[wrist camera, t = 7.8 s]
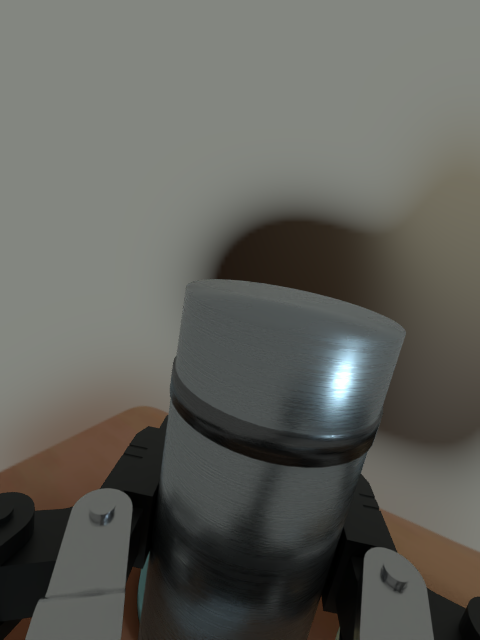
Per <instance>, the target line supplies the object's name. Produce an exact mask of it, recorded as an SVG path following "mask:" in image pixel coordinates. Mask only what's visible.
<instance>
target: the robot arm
mask: <svg viewBox="0 0 480 640" xmlns="http://www.w3.org/2000/svg"><path fill="white" fill-rule="evenodd" d="M167 422H168V415H167V416H166V418H165V419H164V421H163V423H162V425H161V426H160V428H154V427H150V426H148V427H147V428H145V429H143V430H142V431H140V432H139V433H137V434H136V436H135V437H134V439H133V440H132V442H131V443H130V445H129V446H128V448H127V449H126V450H125V452H124V454H123V455H122V456H121V458H120V459H119V461H118V462H117V464H116V465H115V467H114V468H113V470H112V471H111V473H110V474H109V476H108V477H107V479H106V480H105V482H104V483H103V485H102V486H101V488H100V489H98V490H95V491H92V492H90V493H88V494H86V495H84V496H83V497H82V498H80V499H79V500H78V501H77V502H76V503H75V505H74V507H70V508H66V509H55V510H40V511H35V507H34V502H33V500H32V499H31V498H30V497H29V496H27V495H25V494H22V493H17V492H7V493H1V494H0V640H3V639H4V638H5V637H6V636H7V635H8V634H9V633H10V632H11V631H12V630H13V628H14V627H15V626H16V625H17V624H18V623H19V622H20V621H21V620H22V618H29V617H32V619H31V623H30V626H29V629H28V632H27V635H26V638H25V640H121V632H122V621H123V610H124V599H125V584H126V581H127V579H128V576H129V574H130V572H131V569H132V567H137V568H142V569H143V567H144V565H145V562H146V559H147V557H148V554H149V552H150V546H151V539H152V532H153V524H154V517H155V510H156V502H157V495H158V488H159V481H160V473H161V466H162V459H163V451H164V444H165V437H166V430H167ZM321 597H322V604H323V610H324V611H327V612H332V613H336V614H338V619H339V625H340V627H339V630H338V633H337V635H336V639H335V640H480V597H474V598H473V599H471V600H470V602H469V603H468V605H467V607H466V608H464V607H462V606H460V605H458V604H456V603H454V602H452V601H450V600H448V599H446V598H444V597H442V596H440V595H438V594H436V593H435V592H433V591H431V590H429V589H428V588H427V587H426V585H425V582H424V580H423V578H422V576H421V575H420V573H419V572H418V570H417V569H416V568H415V567H414V566H413V565H412V564H411V563H410V562H409V561H408V560H407V559H406V558H404V557H403V556H401V555H400V554H398V553H397V550H396V548H395V545H394V543H393V541H392V538H391V536H390V533H389V531H388V528H387V526H386V523H385V521H384V518H383V516H382V514H381V511H379V506H378V504H377V502H376V500H375V496H374V494H373V492H372V489H371V486H370V485H369V483H368V482H367V480H366V479H365V478H364V477H363V476H362V474H360V477H359V480H358V483H357V486H356V489H355V492H354V495H353V498H352V502H351V505H350V508H349V511H348V514H347V517H346V520H345V523H344V526H343V529H342V532H341V536H340V539H339V542H338V545H337V548H336V551H335V554H334V557H333V560H332V563H331V566H330V570H329V573H328V576H327V579H326V582H325V585H324V588H323V591H322V594H321Z"/></svg>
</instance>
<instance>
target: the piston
mask: <svg viewBox="0 0 480 640" xmlns="http://www.w3.org/2000/svg"><path fill="white" fill-rule="evenodd" d="M405 334H406V333H405V330H404V328H403V327H401V326H400V325H399V324H398V323H396V322H394V321H393V320H391V319H389V318H387V317H385V316H383V315H380V314H378V313H376V312H373V311H371V310H368V309H365V308H363V307H360V306H357V305H354V304H351V303H347V302H344V301H341V300H337V299H334V298H330V297H326V296H322V295H319V294H314V293H310V292H306V291H301V290H297V289H292V288H286V287H281V286H275V285H269V284H262V283H255V282H247V281H237V280H221V279H216V280H215V279H211V280H198V281H194V282H191V283H189V284H188V285H187V286H186V292H185V298H184V306H183V313H182V320H181V327H180V335H179V342H178V350H177V356H176V357H175V359H174V362H173V369H172V376H171V384H170V397H171V401H170V408H169V415H168V422H167V430H166V437H165V444H164V451H163V459H162V466H161V473H160V481H159V488H158V495H157V502H156V510H155V517H154V524H153V532H152V539H151V546H150V553H149V561H148V568H147V575H146V583H145V590H144V597H143V604H142V612H141V619H140V626H139V634H138V640H307V638H308V635H309V631H310V628H311V625H312V622H313V619H314V616H315V613H316V610H317V607H318V604H319V600H320V597H321V594H322V591H323V588H324V585H325V582H326V579H327V576H328V573H329V570H330V566H331V563H332V560H333V557H334V554H335V551H336V548H337V545H338V542H339V539H340V536H341V532H342V529H343V526H344V523H345V520H346V517H347V514H348V511H349V508H350V505H351V502H352V498H353V495H354V492H355V489H356V486H357V483H358V480H359V477H360V474H361V471H362V467H363V464H364V461H365V458H366V455H367V452H368V450H369V449H370V447H371V446H372V444H373V442H374V439H375V436H376V433H377V430H378V427H379V424H380V421H381V418H382V414H383V402H384V399H385V396H386V393H387V390H388V387H389V384H390V381H391V378H392V375H393V372H394V369H395V365H396V362H397V359H398V356H399V353H400V350H401V347H402V344H403V341H404V338H405Z"/></svg>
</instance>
